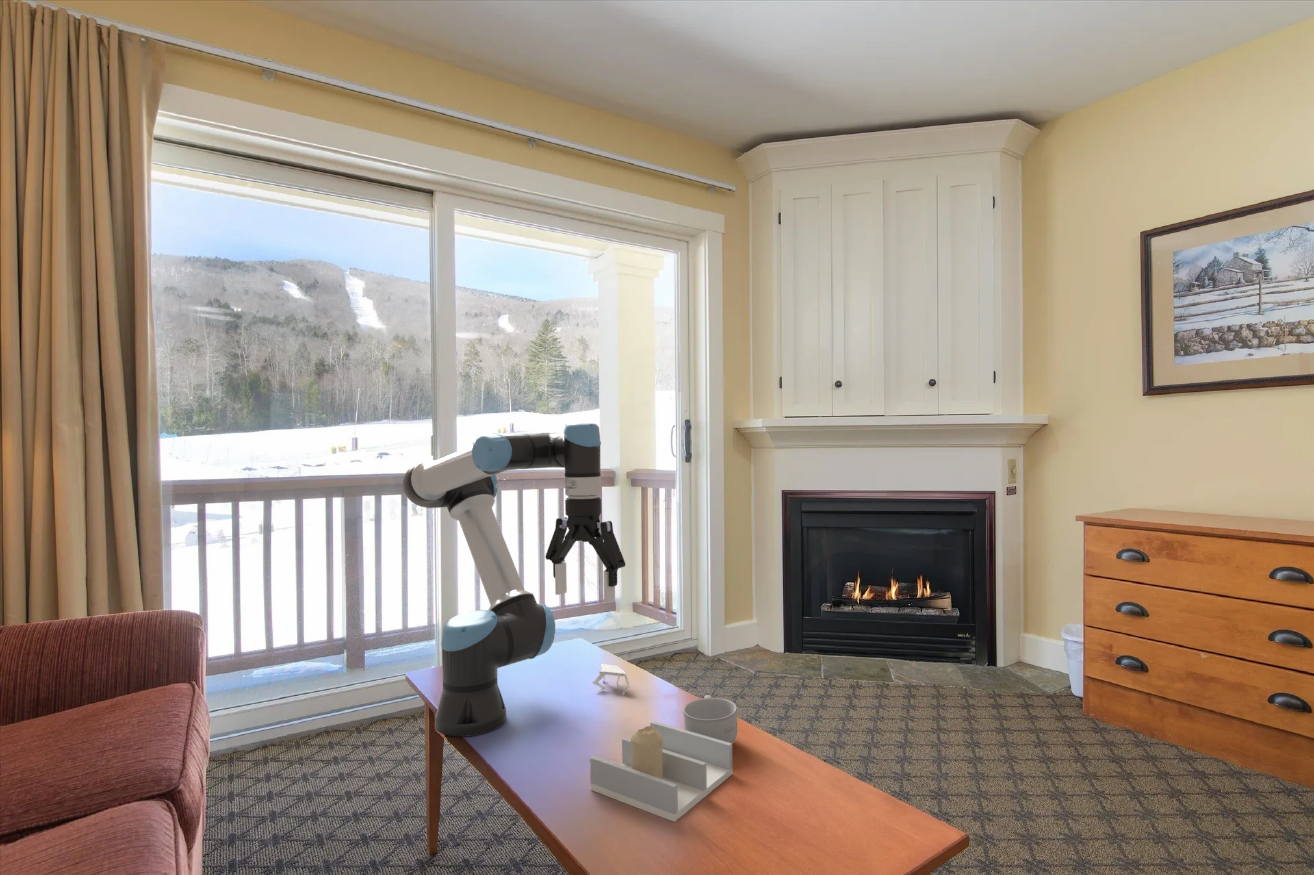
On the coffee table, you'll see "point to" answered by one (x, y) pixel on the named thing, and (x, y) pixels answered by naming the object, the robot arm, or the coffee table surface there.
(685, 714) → the teacup
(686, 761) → the slot rack
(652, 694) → the coffee table surface
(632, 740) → the candle
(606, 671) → the origami figure
